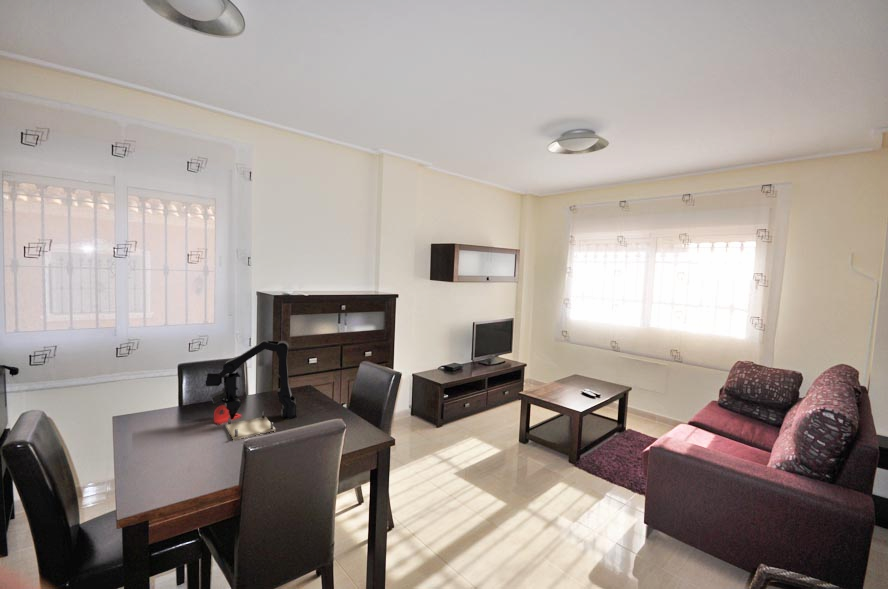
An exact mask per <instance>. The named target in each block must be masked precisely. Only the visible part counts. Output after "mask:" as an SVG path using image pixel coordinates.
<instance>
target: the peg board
mask: <svg viewBox="0 0 888 589" xmlns="http://www.w3.org/2000/svg"><path fill="white" fill-rule="evenodd" d="M225 428H226V430H227V432H228V434H229V435H231V436H230V438H231V437H232V438H231V439H233V440H235V441H238V440H237V439H240V440H242V439H241V438H243V437H244V439H248V438H253V437H257V436H262V435H264V434H260V433H266V432H270V431H274V432H270V433H267V434H271V433H276V427H275V426H274V422H273V421H270V420H269V419H268V417H267V416H265V411H261V416H260V417H256V418H249V419H245V420H244V419H243V420H241V421H240V420H239V421H235V422H232V421H231V417H229V418H228V422H227V423H225ZM255 434H260V435H256V436H251V435H255ZM267 434H266V435H267ZM248 436H249V437H248ZM245 437H247V438H245ZM233 440H232V441H233Z"/></svg>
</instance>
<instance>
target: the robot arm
mask: <svg viewBox="0 0 888 589" xmlns="http://www.w3.org/2000/svg"><path fill="white" fill-rule="evenodd" d="M264 350H267V351H271V352H274V353H275V352H276V355H277V358H278V361H279V362H278V363H279V377H280V378H279V380H280V388H279V387H278V388H277V392H276V393H277V400H278V401H279V403H280V404H281V405H282V406H281V407H282V408H281V409H280V411H281V412H280V416H281V417H282V418H283V419H284V420H289V419H288V418H290V419H294V418H293V417H295V418H298V415H297V404H296V400H297V398H296V397H295V396H294V395H293V394H292V390H291V387H290V384H289V372H288V370H289V369H288V354H289V342H288V341H286V340H280V341H277V340H266V339H263V340H261V342H259V343H258V344H256V345H254V346H253V347H251V348H250V349H248V350H246V351H245V352H243V353H242V354H240V355H238V356H234V357H233V358H230V359H227V361H226V362H225V363H224V364H223V366H222V369H221V370H220V371H219V372H211V371H210V372H207V374H206V378H205V379H206V380H205V387H206V388H208V387H221V385H222V384H223V387H222V390H220V391H217V392H214V393H213V394H210V396H209V397H210V399H211V401H212V403H213V404H217V403H219V402H222V403H224V405H225V406H226V409H228V410H229V416H230V417H231V419H233V418H234V416H235V414H236V413H237V412H238V410H239V409H240V408H241V407H242V401H241V400H240V399H239V398H238V397H239V396H238V390H239V387H238V378H240V377H241V376H242V373H241V372H240V371H238V369H239V368H240V367H241V366H242V365H244V363H246V362H247V361H249V360H250V359H252V358H253V357H255V356H257V355H258V354H260V353H261V352H263V351H264ZM237 414H238V413H237Z"/></svg>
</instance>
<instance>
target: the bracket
mask: <svg viewBox="0 0 888 589" xmlns="http://www.w3.org/2000/svg"><path fill="white" fill-rule="evenodd" d="M221 411H223V412H222V413H221ZM220 413H221V414H220ZM229 417H230V413H229V410H228V409H226V406H225V404H221V405H218V406H217V407H216V408H215V409H214V412H213V423H214V424H216V423H217V425H219V424H221V425H223V424H222V423H224V424H226V423H225V422H227V423H228V418H229ZM240 417H241V418H242V414H240V413H236V414H235V416H234V418H233V419H231V420H232V421H235V420H238V419H241V418H240ZM237 418H238V419H237ZM234 419H235V420H234Z"/></svg>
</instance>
